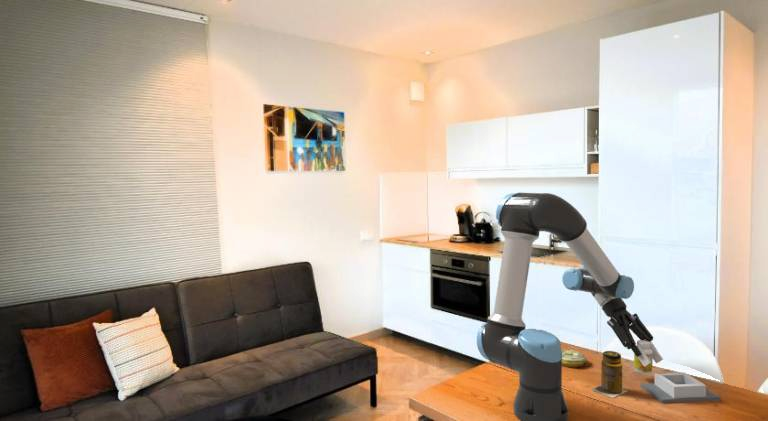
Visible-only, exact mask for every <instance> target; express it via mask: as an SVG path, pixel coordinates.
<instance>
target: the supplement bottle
mask: <svg viewBox="0 0 768 421" xmlns="http://www.w3.org/2000/svg"><path fill="white" fill-rule="evenodd" d="M638 344H639V346H640V347H641V348H642V350H643V351H644V353H645V354H646V356H647V357H648V358H649V360H650V361H651V363H650V364H649V365H647V366H645V367H644V366H643V364H642V363H641V361H640V360H639V358H638V357H637V356H636V355H635V354H634V353H633V355H634V356H633V370H634V371H636V372H637V373H640V374H641V373H642V374H651V373H652V372H653V361H654V360H653V351H652V350H651V349H650V346H651V345H650V342H648V341H645V340H640V339H639V340H637V341H636V345H638Z"/></svg>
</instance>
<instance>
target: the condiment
mask: <svg viewBox="0 0 768 421" xmlns="http://www.w3.org/2000/svg"><path fill="white" fill-rule="evenodd" d="M600 365H601V366H600V367H601V368H600V371H601V373H600V374H601V376H600V378H601V379H600V383H601V384H600V385H597V386H596V387H593V388H591V390H592V391H594V392H597V393H599V394H601V395H603V396H606V397H610V398H612V399H613V398H616V397H617V396H620V395H623V394H625V393H626V392H628V391H629V390H627V389H624V388H623V363H622V355H621V353H620V352H617V351H614V350H613V351H612V350H606V351H604V352H602V359H601V363H600Z"/></svg>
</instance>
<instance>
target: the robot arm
mask: <svg viewBox="0 0 768 421" xmlns="http://www.w3.org/2000/svg"><path fill="white" fill-rule="evenodd" d="M495 219H496V221H497V222H496V223H497V224H498V225H499V226H500V227H501V230H500V233H501V235H502V236H503V237H504V243H503V249H502V255H501V262H500V269H499V274H498V275H499V276H498V282H497V288H496V295H495V301H494V307H493V313H492V314H491V315H489V316H488V317H487V321H486V322H484V323H483V324H482V325H480V328H479V329H478V331H477V334H476V346H477V347H476V348H477V350H478V352H479V353H480V355H481V356H482V358H484V359H485V360H487V361H489V362H491V363H493V364H495V365H499V366H501V367H504V368H506V369H510V370H512V371H515V372H517V373H518V374H519V376H518V377H519V378H518V379H519V380H518V381H519V385H518V386H519V387H518V388H517V392H516V394H515V398H514V401H513V406H512V407H513V414H514V416H515V417H516V418H517V419H519V420H520V421H568V420H569V407H568V404H567V401H566V399H565V396H564V393H563V390H562V389H563V388H562V387H563V385H562V383H563V380H562V378H563V376H562V374H563V373H562V372H563V367H562V366H563V365H562V351H563V350H562V343H561V341H560V339H559V338H558V337H557V336H556V335H554V334H553V333H551V332H548V331H547V330H544V329H536V328H526V326H527V324H525V322H524V321H523V313H524V312H523V311H524V304H525V297H526V290H527V285H528V284H527V283H528V276H529V272H530V271H529V270H530V264H531V258H532V257H531V256H532V251H533V243H534V242H535V241H536V240H538V239H539V236H540V232H544V233H545V232H546V233H549V234H552V235H554V236H555V237H556V238H557V239H558V240H559V241H560V242H563V243H565V244H566V245H567V247H568V248H569V249H570V251H571V252H572V253H573V254H574V255H575V257H576V258H577V259H578V261H579V262H580V264H581V265H582V266H581V267H579V268H576V267H575V268H569V269H568V268H567V269H566V270H565V271H564V272H563V273H562V278H561V281H562V284H563V286H564V287H565V288H566V289H567V290H570V291H575V292H577V291H580V292H586V293H590V294H591V295H592V297H593V298H594V300H595V301H596V302H597V304H598V305H599V307H601V310H602V311H603V312H604V314H605V316H606V317H608V318H609V320H607V321H606V324H607V325H608V326H610V328H611V330H612V331H613V332H614V334H615V335H616V337H617V338H618V339H619V340H618V341H619V342H620V343H621V345H622V346H623V347H624V348H626V349H627V350H630V349H631V351H632V352H633V355H634V354H635V355H636V356H637V357H638V358H639V360H640V361H641V363H642V364H643V366H644V367H645V366H647V365H649V364H650V363H651V361H650V360H649V358H648V357H647V356H646V354H645V353H644V351H643V350H642V348H641V347H640V346H639V344H638V345H637V342H636V341H635V338H634V337H633V335H632V333H633V334H634V335H635V336H636V337H637V338H638V339H639V340H645V341H648V342H650V345H651V346H650V349H651V350H652V351H653V361H654V362H655V364H658V363H659V362H662V361H663V360H664V358H663V357H662V355H661V354H660V352H659V351H658V350H657V348H656V346H655V344H653V342H652V341H653V340H654V336H653V334H652V333H651V332H650V331H649V330H648V329H647V327H646V326H645V324H644V323H643V321H642V320H641V319H640V317H639V315H638V314H637V313H636V312H635V313H633V314H631V313H630V311H628V310H627V304H626V303H625V301H624V300H623V299H625V300H627V299H630V298H631V297H632V295H633V293H634V290H635V283H634V279H633V278H632V277H630V276H627V275H624V274H623V275H621V274H620V272H619V271H618V270H617V269H616V267H615V266H614V264H613V263H612V261H611V260H610V259H609V257H608V256H607V254H606V253H605V252H604V250H603V249H602V248H601V246H600V245H599V243H598V242H597V241H596V240H595V238H594V237H593V235H592V234H591V232H590V230H589V229H588V228H587V227H588V223H587V221H586V219H585V218H584V216H583V215H582V214H581V213H580V211H578V209H577V208H576V207H575V206H574V205H572V204H571V203H569V201H567V200H566V199H564V198H562V197H561V196H559V195H556V194H553V193H549V192H544V193H543V192H540V193H539V192H538V193H537V192H516V193H514V192H513V193H509V194H506V195H505V196H504V197H502V198H501V200H500V201H499V203H498V204H497V207H496V210H495ZM630 330H631V331H630Z"/></svg>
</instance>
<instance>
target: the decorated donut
mask: <svg viewBox="0 0 768 421" xmlns="http://www.w3.org/2000/svg"><path fill="white" fill-rule="evenodd" d="M587 361H588V359H587V356H586V355H585V354H583V353H582V352H580V351H578V350H574V349H568V350H567V349H563V350H562V366H564V367H567V368H580V367H582V366H583V365H584V364H586V362H587Z"/></svg>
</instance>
